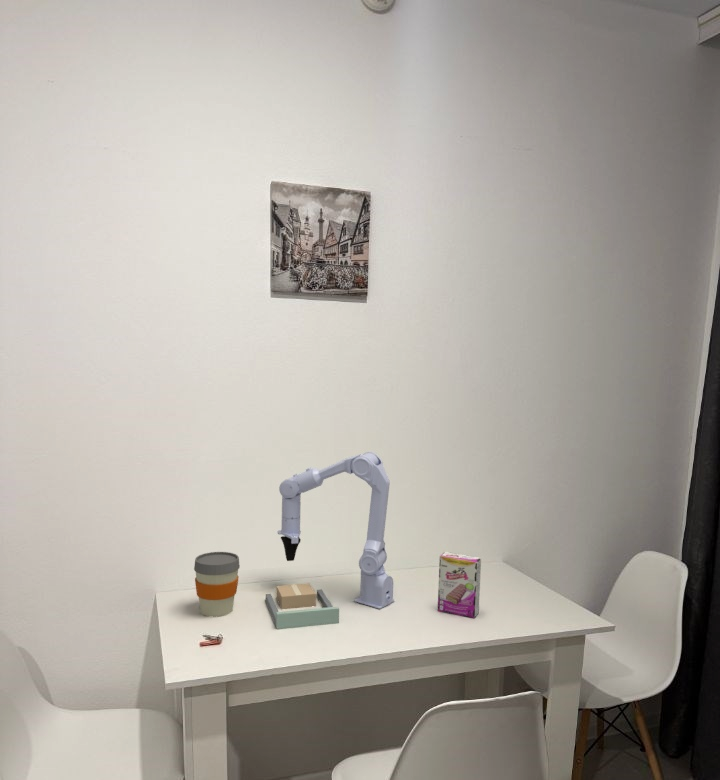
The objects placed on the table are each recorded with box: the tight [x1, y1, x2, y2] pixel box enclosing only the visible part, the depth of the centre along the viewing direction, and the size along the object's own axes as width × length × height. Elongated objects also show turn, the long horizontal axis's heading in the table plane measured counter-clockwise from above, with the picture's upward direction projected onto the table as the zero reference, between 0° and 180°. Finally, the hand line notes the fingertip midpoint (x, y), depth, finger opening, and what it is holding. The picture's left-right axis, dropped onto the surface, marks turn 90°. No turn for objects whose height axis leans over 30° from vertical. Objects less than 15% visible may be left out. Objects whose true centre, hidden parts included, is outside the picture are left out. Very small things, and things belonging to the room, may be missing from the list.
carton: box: [276, 582, 317, 610], centre depth 188 cm, size 9×10×4 cm
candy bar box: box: [437, 551, 482, 619], centre depth 183 cm, size 11×5×16 cm, turn 65°
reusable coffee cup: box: [193, 551, 240, 618], centre depth 180 cm, size 12×12×15 cm
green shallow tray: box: [265, 589, 340, 630], centre depth 181 cm, size 20×17×4 cm
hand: (290, 560), depth 197 cm, fingers closed
